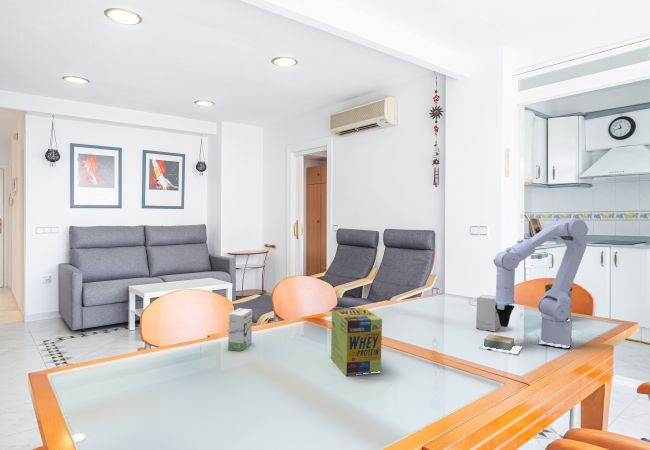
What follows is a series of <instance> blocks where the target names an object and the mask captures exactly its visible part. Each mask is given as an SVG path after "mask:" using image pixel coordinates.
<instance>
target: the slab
mask: <svg viewBox="0 0 650 450" xmlns="http://www.w3.org/2000/svg"><path fill="white" fill-rule="evenodd" d="M483 342H484V346H485V347H490V348H496V349H503V350H509V351H510V350H511V349H512V347H513V346H514V345H515V338H514V337H509V336H503V335H498V334H497V335H496V334H490V333H489V334H488V335H487V336H486V337H485V338H484V339H483Z"/></svg>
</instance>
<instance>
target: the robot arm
mask: <svg viewBox="0 0 650 450" xmlns="http://www.w3.org/2000/svg"><path fill="white" fill-rule="evenodd" d="M589 231H590V230H589V227H588V225H587V223H586V222H585V220H583V219H582V218H578V217H577V218H567V217H559V218H556V219H555V220H553V221H551V222H550V223H549V224H548V225H547V226H545V227H544V228H543V229H541V231H539V232H537V233H536V234H535V235H534V236H532V237H531V238H529V239H526V238H523V239H520V238H519V239H518V240H516V242H517V243H515V244H513V245H512V246H510V247H507V248H505V251H499V252H498V253H497V254H496V255H495V256H494V259H493V264H494V265H495V267H496V285H495V286H496V287H495V288H496V289H495V296H496V298H493V299H492V301H495V302H496V303H497V305H495V309H496V311H497V313H498V316H499V322H500V327H503V328H508V326H509V322H510V320H511V319H510V318H511V315H512V312H513V311H514V308H515V305H513V304H515V282H516V281H515V276H516V275H515V274H516V269H518V267H519V264H520V262H522V261H524V260H526V259H527V258H528V257H530V256H531V255H533V254H534V253H535V252H536V248H537V247H539V246H541V245H543V244H544V243H546V242H548V241H549V240H551V239H554V238H555V237H558V238H559V239H560V240H562V242H563V243H564V244H565V246H566V248H565V251H564V254H563V257H562V258H561V259H562V260H561V262H560V265H559V267H558V270H557V272H556V275H555V278H554V280H553V283H552V284H553V285H552V288H551V289H550V290H548V291H547V292H544V293H543V297H541V298H540V300H539V301H538V303H537V309H538V312H540V313H541V314H540V315H541V330H540V331H541V332H540V339H541V340H542V341H544V342H547V343H553V344H561V345H566V346H570V345H571V346H572V344H573V338H572V335H573V334H572V333H573V322H572V321H573V320H572V321H567V320H566V319H567V318H568V317H569V315H570V311H571V312H572V309H571V310H570V306H571V307H572V302H573V301H571V299H570V297H569V295H568V294H569V291H570V289H571V287H572V286H573V283H574V280H575V278H576V276H577V273H578V270H579V269H580V265H581V262H582V259H583V258H584V254H585V252H586V249H587V234H588V232H589Z"/></svg>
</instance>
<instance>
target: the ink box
mask: <svg viewBox="0 0 650 450" xmlns="http://www.w3.org/2000/svg"><path fill="white" fill-rule="evenodd" d="M252 332H253V309H251V308H241V307H239V308H236V309H235V310H233V311H231V312H229V314H228V342H227V343H228V344H227V345H228V346H227V350H228V351H229V350H230V351H237V352H238V351H239V352H243V350H245V349H246V348H247V347H248V346H250V345H251V344H252V336H253V333H252Z"/></svg>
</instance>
